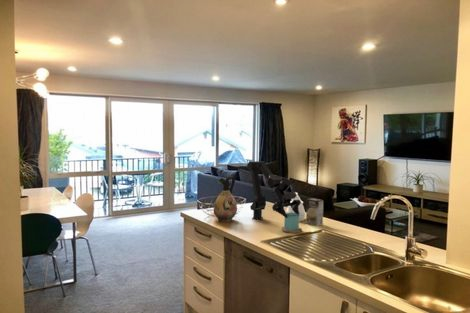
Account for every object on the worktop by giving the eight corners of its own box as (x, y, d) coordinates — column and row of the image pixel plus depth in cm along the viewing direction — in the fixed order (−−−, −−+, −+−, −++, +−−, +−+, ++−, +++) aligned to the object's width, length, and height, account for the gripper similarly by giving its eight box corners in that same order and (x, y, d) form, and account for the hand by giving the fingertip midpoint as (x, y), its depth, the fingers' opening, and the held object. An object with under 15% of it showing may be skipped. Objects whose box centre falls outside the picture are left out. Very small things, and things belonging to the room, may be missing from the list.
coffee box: (305, 223, 224) (306, 198, 223) (311, 221, 228) (311, 197, 227) (317, 226, 217) (318, 200, 216) (323, 224, 221) (323, 199, 220)
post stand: (282, 227, 213) (282, 220, 213) (302, 228, 211) (302, 221, 210) (280, 232, 202) (280, 224, 202) (301, 234, 199) (301, 226, 199)
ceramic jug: (221, 224, 218) (221, 177, 217) (209, 219, 231) (209, 175, 229) (243, 221, 228) (244, 176, 226) (230, 216, 241) (231, 173, 239)
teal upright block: (284, 228, 207) (284, 213, 207) (291, 227, 210) (292, 212, 210) (290, 230, 202) (291, 215, 201) (298, 229, 205) (299, 214, 205)
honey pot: (304, 221, 230) (305, 194, 229) (285, 220, 232) (285, 193, 231) (304, 216, 242) (305, 191, 241) (286, 215, 245) (286, 190, 244)
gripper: (275, 188, 203) (287, 210, 195) (299, 186, 213) (311, 207, 205) (267, 199, 210) (278, 221, 202) (290, 197, 220) (302, 217, 212)
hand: (293, 216), depth 205 cm, fingers open, 9 cm apart
